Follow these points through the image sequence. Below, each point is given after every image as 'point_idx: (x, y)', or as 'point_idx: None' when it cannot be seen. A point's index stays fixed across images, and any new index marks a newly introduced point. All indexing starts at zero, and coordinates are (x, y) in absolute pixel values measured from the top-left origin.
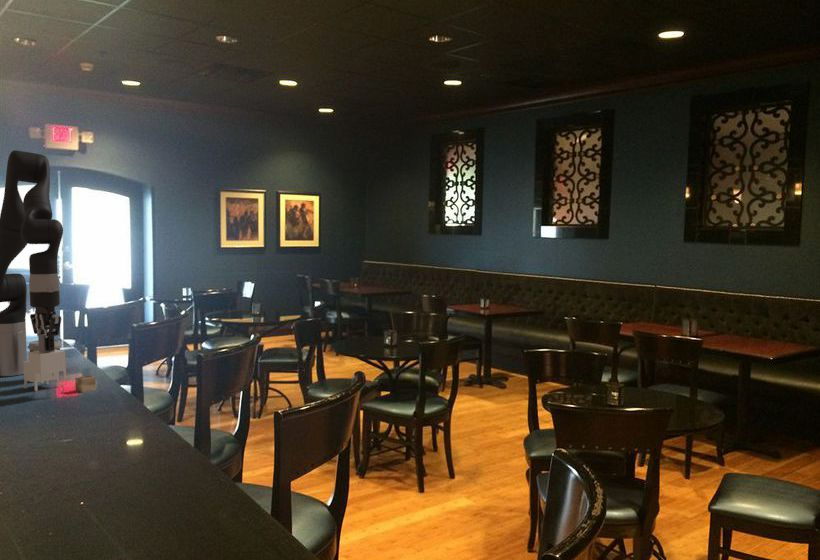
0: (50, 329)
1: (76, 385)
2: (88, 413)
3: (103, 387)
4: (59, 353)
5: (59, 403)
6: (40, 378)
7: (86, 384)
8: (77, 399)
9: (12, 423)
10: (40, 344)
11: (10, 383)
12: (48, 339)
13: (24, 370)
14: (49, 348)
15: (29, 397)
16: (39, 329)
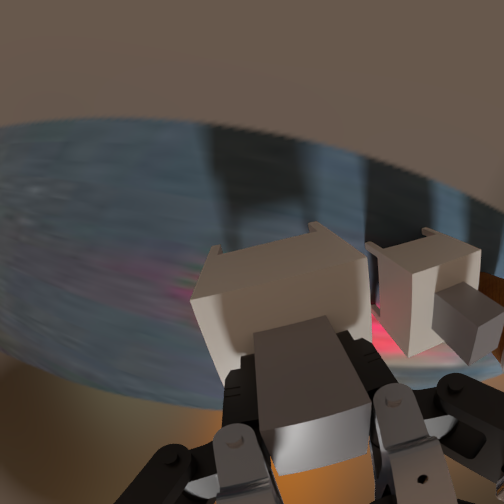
0: (129, 495)
1: None
2: (20, 286)
3: None
4: None
5: (132, 262)
6: (215, 250)
7: None
8: (156, 313)
9: (15, 135)
10: (311, 356)
11: (488, 214)
12: (225, 424)
13: (457, 242)
14: (229, 376)
15: (284, 205)
16: (384, 450)
